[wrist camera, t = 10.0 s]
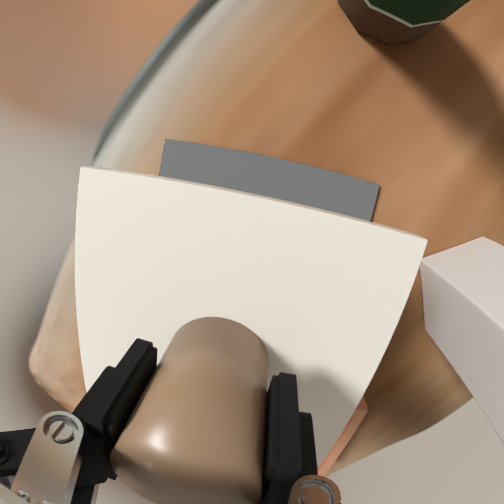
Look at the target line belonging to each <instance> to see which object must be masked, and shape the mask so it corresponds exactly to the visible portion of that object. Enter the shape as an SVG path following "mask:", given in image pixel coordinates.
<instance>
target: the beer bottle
mask: <svg viewBox="0 0 504 504" xmlns="http://www.w3.org/2000/svg"><path fill="white" fill-rule="evenodd" d="M469 1H470V0H338V1H337V2H338V3H339V5H340V6H341V8H342V9H343V11H344V12H345V13H346V15H347V16H348V18H349V19H350V21H351V22H352V24H353V25H354V27H355V29H356V30H357V31H360V32H362V33H365V34H367V35H369V36H371V37H374V38H376V39H378V40H380V41H382V42H384V43H386V44H388V45H393V44H397V43H401V42H405V41H410V40H414V39H418V38H420V37H421V36H423V35H425V34H426V33H428V32H429V31H430V30H432V29H433V28H434V27H436V26H437V25H438V24H439V23H441V22H442V21H443V20H445V19H446V18H447V17H449V16H450V15H451V14H452V13H454V12H455V11H456V10H458V9H459V8H460V7H462V6H463V5H464V4H466V3H467V2H469Z"/></svg>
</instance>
